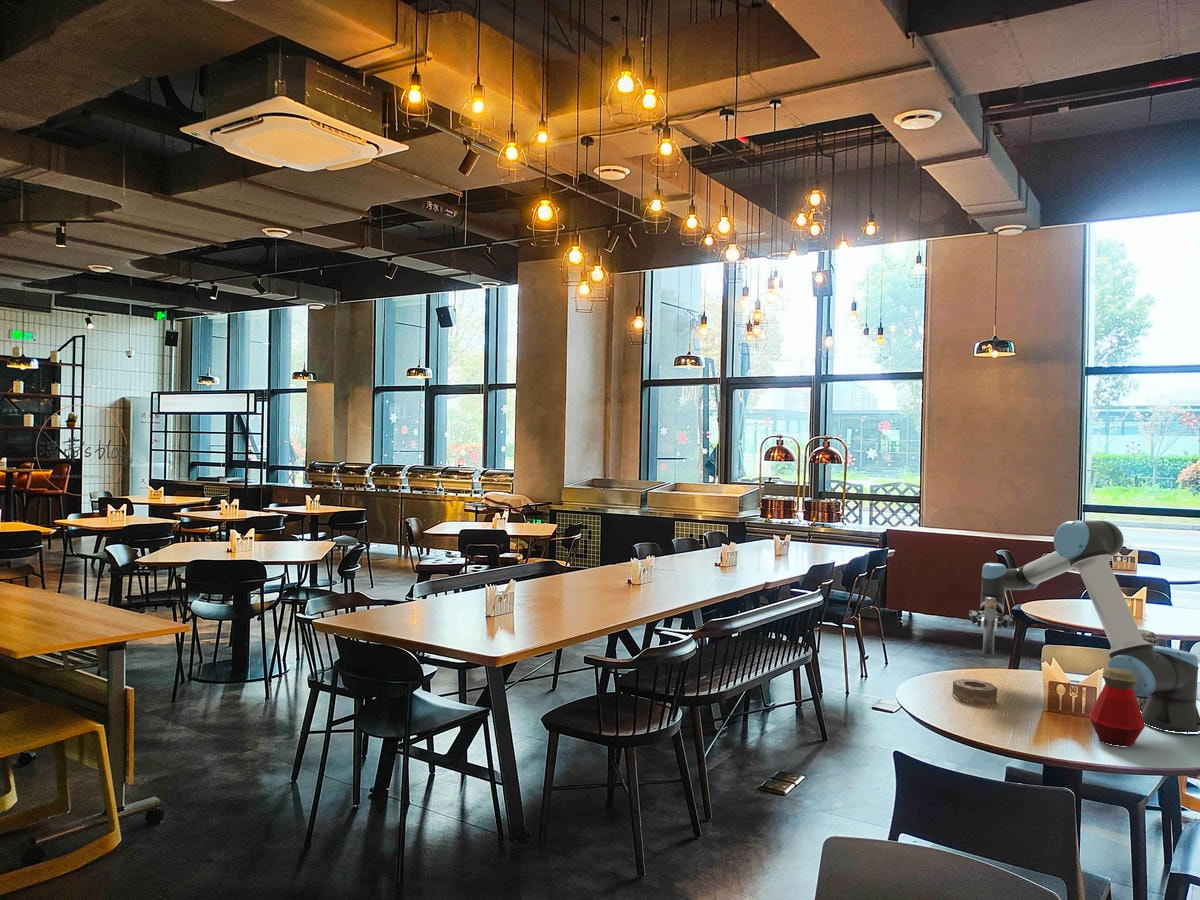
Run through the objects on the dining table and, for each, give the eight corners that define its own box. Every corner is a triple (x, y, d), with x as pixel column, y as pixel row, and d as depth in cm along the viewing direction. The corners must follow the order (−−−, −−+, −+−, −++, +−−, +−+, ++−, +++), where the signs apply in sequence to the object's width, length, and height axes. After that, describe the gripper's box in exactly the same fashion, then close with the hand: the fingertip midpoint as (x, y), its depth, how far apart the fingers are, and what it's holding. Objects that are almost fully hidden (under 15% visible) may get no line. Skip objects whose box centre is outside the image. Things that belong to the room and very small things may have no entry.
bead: (1000, 705, 263) (1001, 691, 263) (961, 702, 265) (961, 688, 264) (986, 693, 275) (987, 680, 275) (949, 691, 277) (949, 677, 276)
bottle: (1092, 728, 245) (1096, 660, 245) (1147, 740, 236) (1151, 669, 236) (1082, 742, 233) (1086, 670, 232) (1140, 755, 224) (1143, 681, 224)
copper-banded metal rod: (995, 654, 270) (997, 599, 269) (984, 654, 270) (987, 598, 270) (991, 652, 273) (994, 597, 273) (981, 651, 274) (983, 596, 273)
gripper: (1017, 627, 284) (1016, 641, 263) (964, 620, 291) (960, 633, 270) (1018, 605, 284) (1017, 617, 263) (966, 599, 291) (961, 610, 270)
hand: (988, 625), depth 267 cm, fingers closed on copper-banded metal rod, 3 cm apart
